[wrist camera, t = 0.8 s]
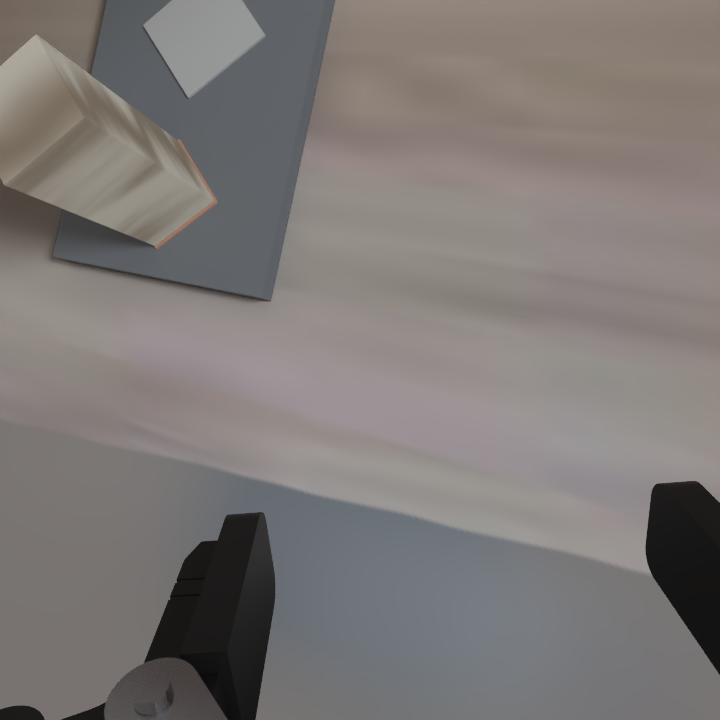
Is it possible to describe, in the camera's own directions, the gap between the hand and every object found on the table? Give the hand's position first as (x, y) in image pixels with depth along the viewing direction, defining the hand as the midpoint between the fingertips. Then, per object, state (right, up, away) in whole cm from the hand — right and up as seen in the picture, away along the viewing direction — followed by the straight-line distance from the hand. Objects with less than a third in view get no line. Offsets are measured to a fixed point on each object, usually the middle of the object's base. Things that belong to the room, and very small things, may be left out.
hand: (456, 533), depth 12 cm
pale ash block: (-15, +15, +27) cm, 34 cm away
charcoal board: (-13, +20, +28) cm, 37 cm away
